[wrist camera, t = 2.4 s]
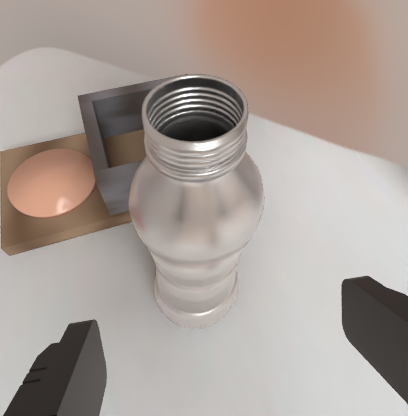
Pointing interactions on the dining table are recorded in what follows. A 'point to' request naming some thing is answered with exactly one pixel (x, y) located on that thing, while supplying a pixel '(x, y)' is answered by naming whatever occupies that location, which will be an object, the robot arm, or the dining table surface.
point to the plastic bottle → (196, 195)
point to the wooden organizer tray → (102, 166)
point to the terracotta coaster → (51, 183)
